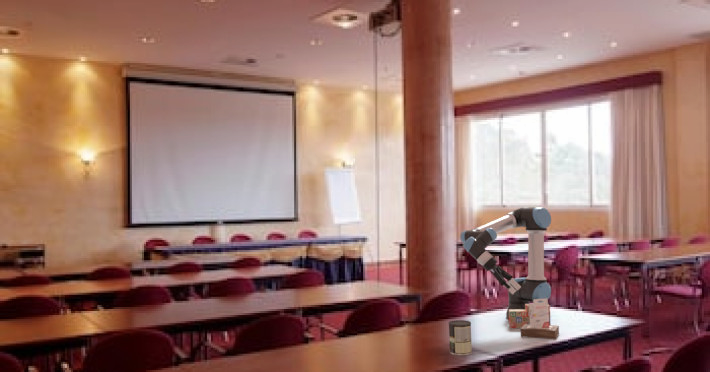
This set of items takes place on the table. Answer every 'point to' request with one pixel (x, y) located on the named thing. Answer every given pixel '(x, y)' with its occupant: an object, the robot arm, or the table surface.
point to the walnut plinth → (540, 331)
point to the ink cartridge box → (539, 313)
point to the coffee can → (460, 337)
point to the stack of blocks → (521, 317)
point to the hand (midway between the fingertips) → (517, 290)
